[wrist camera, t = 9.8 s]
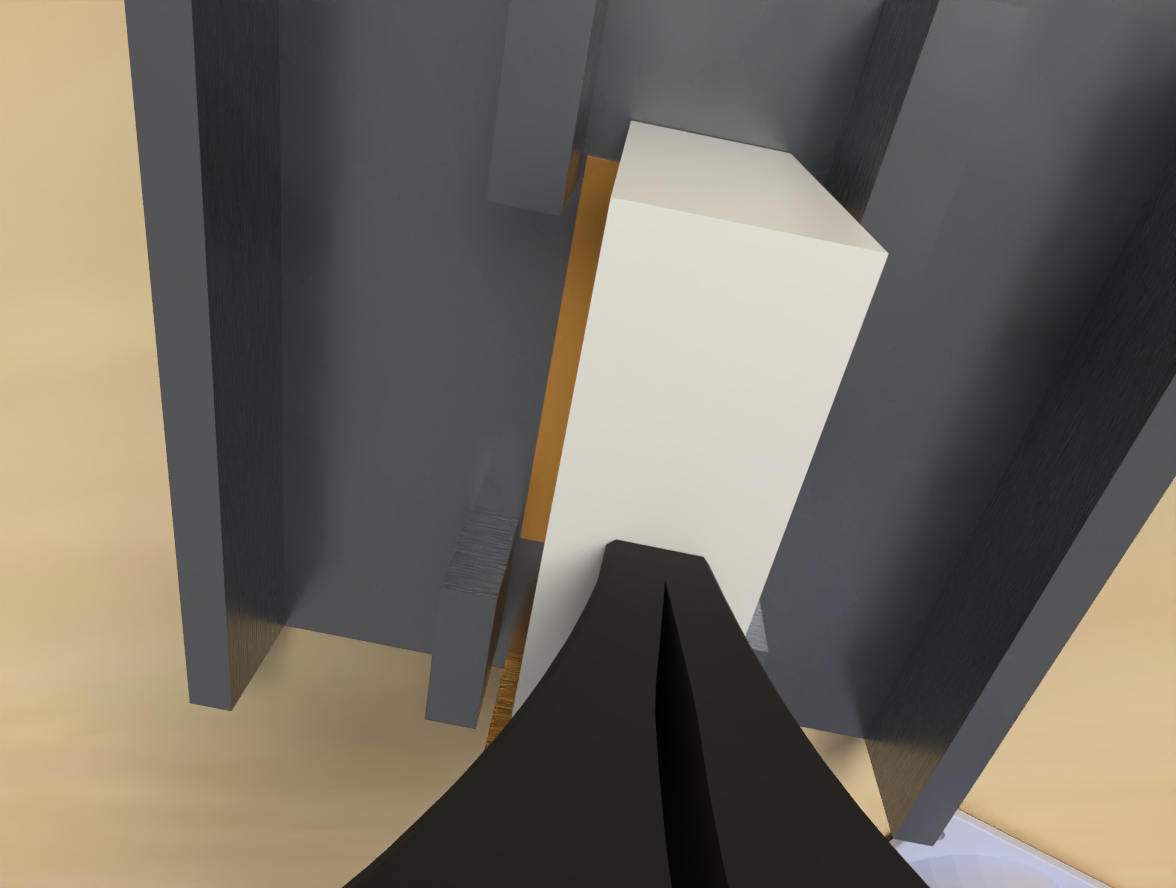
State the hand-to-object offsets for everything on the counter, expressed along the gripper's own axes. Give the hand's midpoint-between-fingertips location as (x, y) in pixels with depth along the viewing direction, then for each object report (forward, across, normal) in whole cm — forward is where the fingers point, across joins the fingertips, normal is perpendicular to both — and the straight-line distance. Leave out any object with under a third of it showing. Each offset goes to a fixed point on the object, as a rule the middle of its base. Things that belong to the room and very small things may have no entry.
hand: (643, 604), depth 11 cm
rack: (+8, 0, 0) cm, 8 cm away
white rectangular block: (+7, 0, 0) cm, 7 cm away
